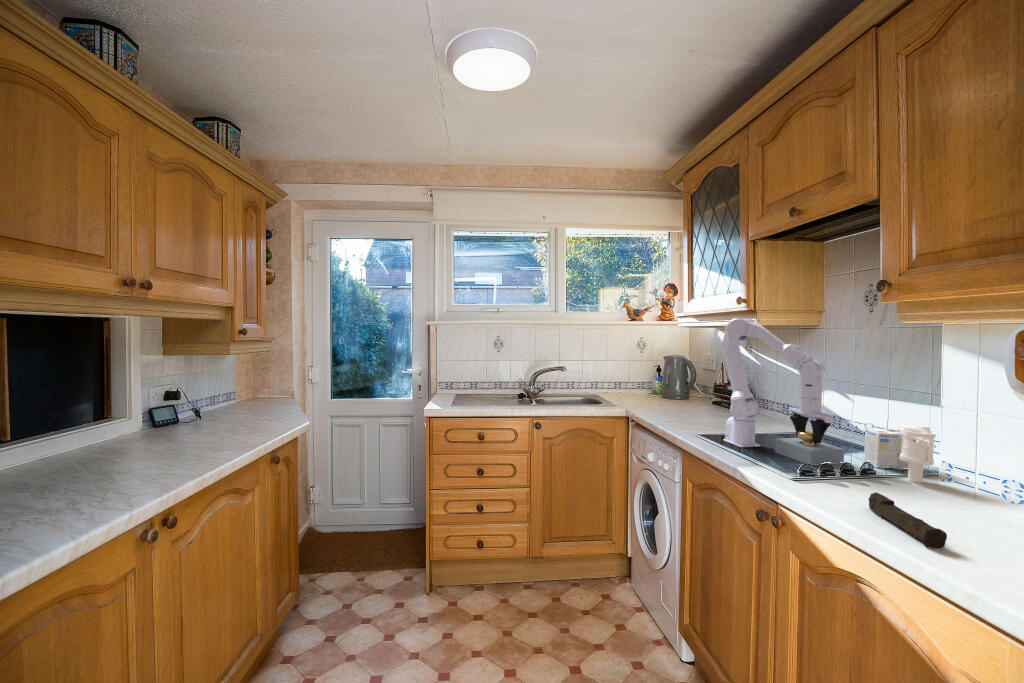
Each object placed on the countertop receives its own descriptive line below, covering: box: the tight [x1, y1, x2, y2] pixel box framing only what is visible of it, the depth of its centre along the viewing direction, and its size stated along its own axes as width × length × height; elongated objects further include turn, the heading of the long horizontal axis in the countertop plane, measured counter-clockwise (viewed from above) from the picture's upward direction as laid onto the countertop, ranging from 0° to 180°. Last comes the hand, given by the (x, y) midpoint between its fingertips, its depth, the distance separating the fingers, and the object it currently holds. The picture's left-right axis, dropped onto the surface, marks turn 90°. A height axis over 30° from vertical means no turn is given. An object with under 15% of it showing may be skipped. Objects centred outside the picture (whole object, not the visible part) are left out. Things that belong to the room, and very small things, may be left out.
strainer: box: [899, 425, 937, 484], centre depth 125 cm, size 7×7×15 cm
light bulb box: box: [863, 428, 918, 468], centre depth 138 cm, size 11×7×11 cm, turn 84°
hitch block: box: [774, 437, 845, 465], centre depth 145 cm, size 14×12×4 cm
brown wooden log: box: [868, 492, 948, 549], centre depth 97 cm, size 19×4×5 cm, turn 172°
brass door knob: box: [798, 430, 814, 446], centre depth 145 cm, size 6×6×6 cm
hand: (808, 440), depth 145 cm, fingers closed on brass door knob, 6 cm apart
